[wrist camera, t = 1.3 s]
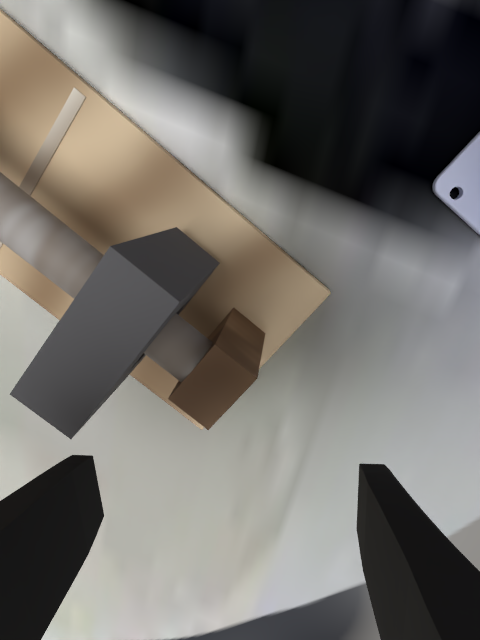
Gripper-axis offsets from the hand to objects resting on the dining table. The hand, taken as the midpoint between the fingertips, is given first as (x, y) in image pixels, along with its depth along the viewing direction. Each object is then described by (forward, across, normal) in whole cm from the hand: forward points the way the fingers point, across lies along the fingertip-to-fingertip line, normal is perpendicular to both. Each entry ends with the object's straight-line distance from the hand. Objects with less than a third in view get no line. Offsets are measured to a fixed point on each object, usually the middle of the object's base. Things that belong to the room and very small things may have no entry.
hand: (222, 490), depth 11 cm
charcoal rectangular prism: (+8, +4, -3) cm, 10 cm away
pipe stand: (+10, +7, -6) cm, 14 cm away
